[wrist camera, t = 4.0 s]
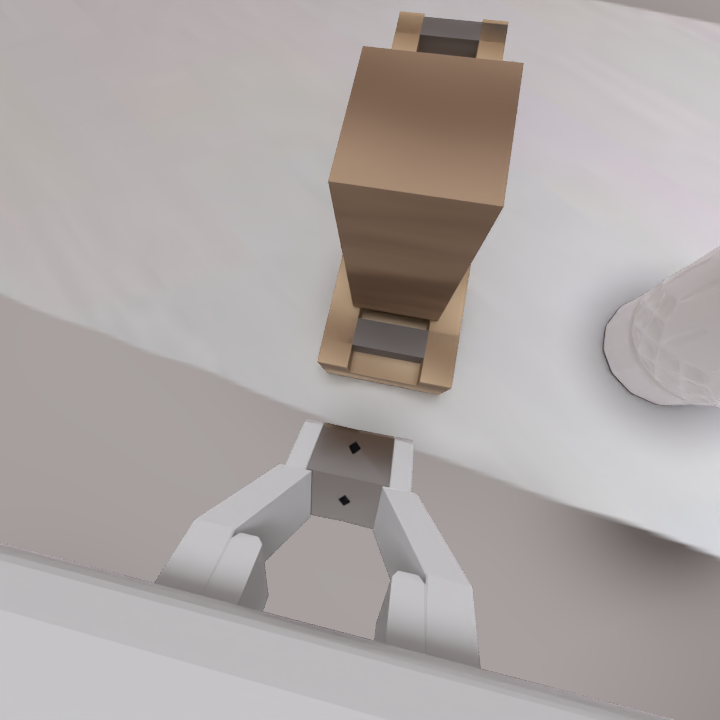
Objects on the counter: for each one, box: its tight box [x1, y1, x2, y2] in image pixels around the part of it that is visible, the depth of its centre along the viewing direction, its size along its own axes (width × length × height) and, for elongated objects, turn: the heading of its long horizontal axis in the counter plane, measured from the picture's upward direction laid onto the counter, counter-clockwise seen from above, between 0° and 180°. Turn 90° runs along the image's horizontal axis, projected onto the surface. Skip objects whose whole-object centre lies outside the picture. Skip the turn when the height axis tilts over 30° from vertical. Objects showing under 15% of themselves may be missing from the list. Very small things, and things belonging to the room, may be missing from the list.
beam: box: [317, 12, 508, 395], centre depth 21 cm, size 24×7×4 cm, turn 168°
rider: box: [328, 46, 524, 321], centre depth 14 cm, size 4×4×10 cm
